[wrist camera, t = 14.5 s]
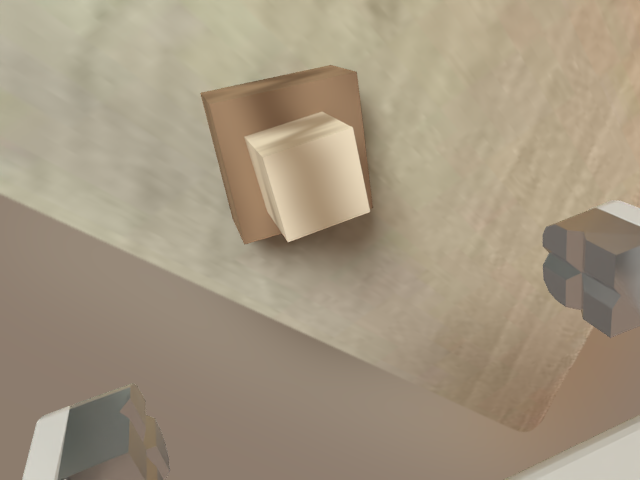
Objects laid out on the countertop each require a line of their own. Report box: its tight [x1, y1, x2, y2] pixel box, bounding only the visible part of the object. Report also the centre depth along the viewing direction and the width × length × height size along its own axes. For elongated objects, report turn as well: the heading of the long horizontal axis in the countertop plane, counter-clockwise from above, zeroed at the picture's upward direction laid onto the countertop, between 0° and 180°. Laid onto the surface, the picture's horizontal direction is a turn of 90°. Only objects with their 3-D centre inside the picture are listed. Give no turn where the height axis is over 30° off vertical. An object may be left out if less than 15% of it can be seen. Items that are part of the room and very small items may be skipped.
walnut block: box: [201, 65, 373, 244], centre depth 34 cm, size 9×9×5 cm
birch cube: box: [244, 112, 370, 242], centre depth 29 cm, size 5×5×5 cm
